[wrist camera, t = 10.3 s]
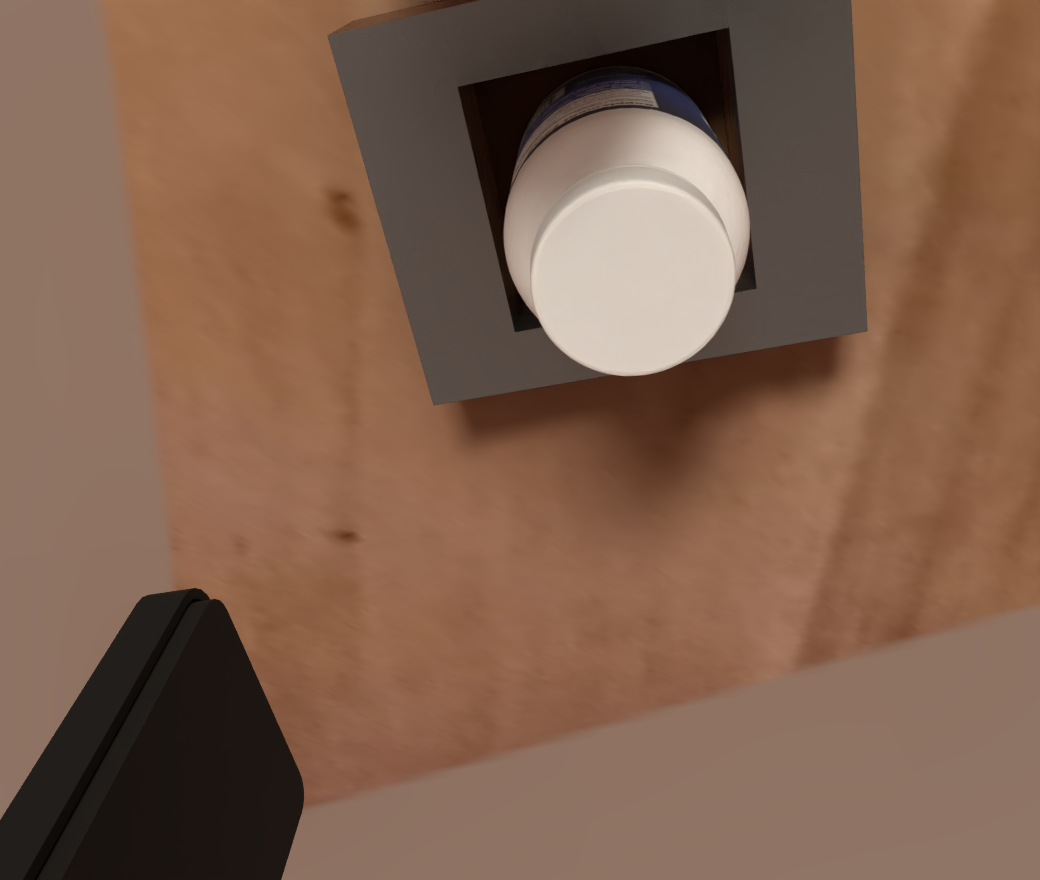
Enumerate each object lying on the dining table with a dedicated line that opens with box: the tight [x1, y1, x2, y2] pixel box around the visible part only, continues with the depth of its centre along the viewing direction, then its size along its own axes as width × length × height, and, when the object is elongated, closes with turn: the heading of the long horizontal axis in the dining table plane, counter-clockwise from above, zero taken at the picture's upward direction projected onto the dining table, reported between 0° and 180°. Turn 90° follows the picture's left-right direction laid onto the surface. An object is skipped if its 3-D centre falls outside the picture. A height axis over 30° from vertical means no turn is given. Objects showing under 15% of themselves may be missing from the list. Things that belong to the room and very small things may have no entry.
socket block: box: [328, 0, 867, 405], centre depth 26 cm, size 12×10×3 cm
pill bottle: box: [504, 66, 750, 376], centre depth 23 cm, size 5×5×10 cm
